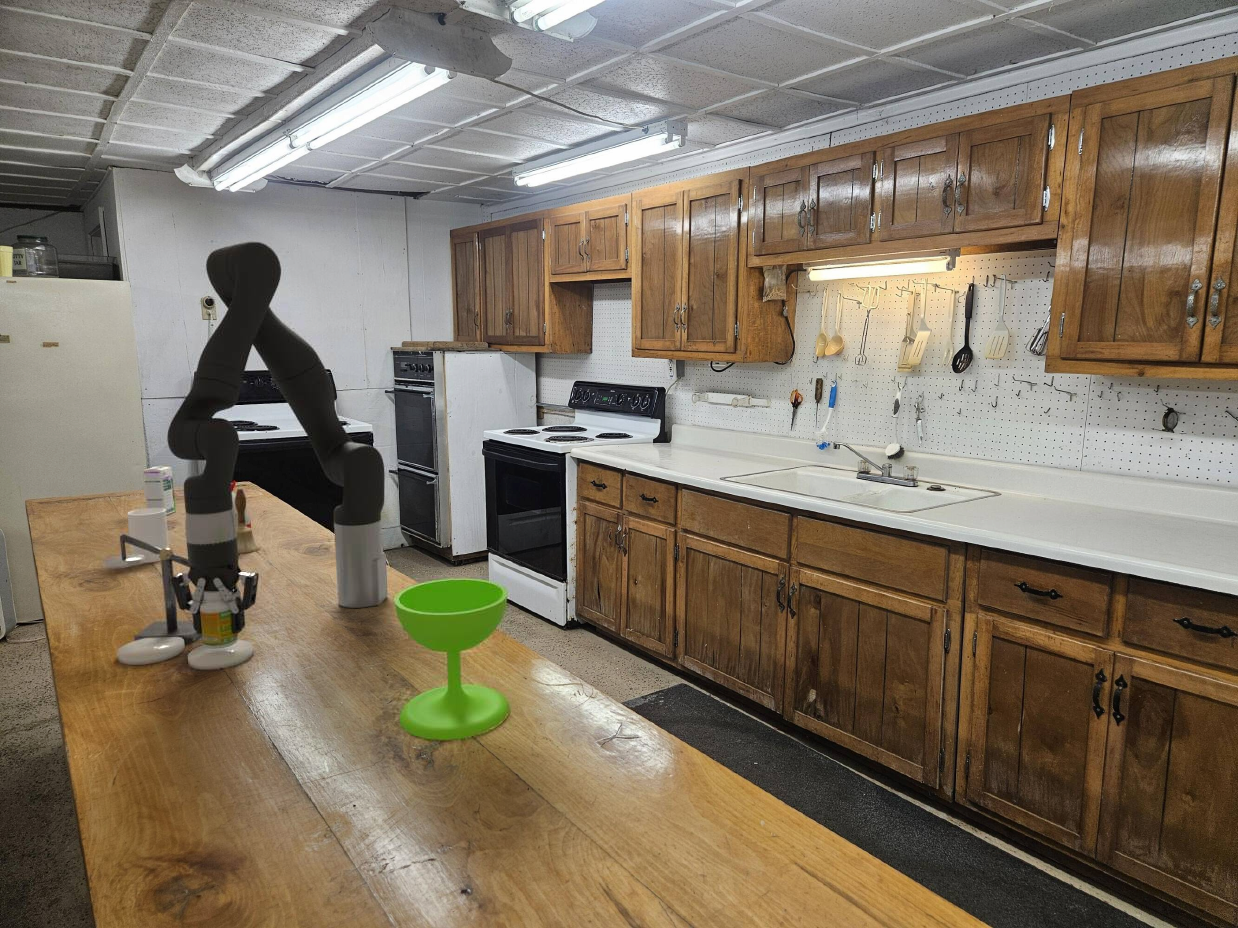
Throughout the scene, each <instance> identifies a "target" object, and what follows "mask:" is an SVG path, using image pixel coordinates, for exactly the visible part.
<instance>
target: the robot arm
mask: <svg viewBox="0 0 1238 928" xmlns="http://www.w3.org/2000/svg"><path fill="white" fill-rule="evenodd" d="M205 267H206V275H207V277H208V281H209V282H210V284H211V286H212V288H213V290H214V291H215V292H216V294H217V295H218V297H219V298H220V300H221V301H222V303H223V304H224V305H225V307H226V308H227V311H226V313H225V315H224V316H223V318H222V320H221V321H220V323H219V324H218V326H217V327H216V329H215V330H214V332H213V333H212V335H211V336H210V338H209V339H208V340H207V343H205V346H204V348H203V350H202V352H201V354H200V357H199V361H198V363H197V366H196V367H197V368H196V371H195V375H194V377H193V382H192V386H191V389H190V391H189V392H188V393H187V396H186V397H185V398H184V400H183V401H182V403H181V404H180V406H179V408H178V410H177V411H176V413H175V415H174V416H173V418H172V420H171V422H170V424H169V426H168V430H167V435H166V436H167V439H166V440H167V444H168V445H167V446H168V448H169V450H170V452H171V454H172V455H174V457H177V459H181V460H185V461H205V465H204V470H203V471H202V473H198V474H194V475H191V476H189V477H186V479H185V480H184V482H183V497H184V499H183V500H184V507H185V508H184V509H185V522H184V523H185V524H184V527H185V534H184V535H185V539H186V540H185V541H186V551H187V559H188V563H189V566H190V567H189V571H188V572H180V573H177V574H174V577H172V578H171V582H172V585H173V588H174V592H175V595H176V603H177V604H178V607H179V609H180V611H185V610H187V611H188V612H190V613H191V614H192V621H193V624H194V625H193V626H194V630H195V631H197V634H202V627H201V616H200V606H201V604H202V603H203V602H204V601H206V600H205V599H204V597H203V592H204V591H219V592H220V594H221V595H222V597H223V599H224V601H225V602H226V603H228V605H229V607H230V609H231V611H232V612H233V613H232V614H231V620H232V632H233V634H238V635H239V634H240V633H241V632H242V631H243V629H244V628H245V626H246V619H245V617H246V616H245V611H246V610H249V609H251V607H252V606H254V605H255V604H256V599H257V592H258V586H259V585H258V583H259V576H260V574H259V573H258V572H256V571H253V572H252V573H248V572H243V571H242V569H241V568H240V566H239V559H240V557H239V554H238V545H237V532H236V521H235V516H234V512H233V502H232V493H231V492H232V491H231V484H232V483H233V476H234V471H235V466H236V462H237V458H238V457H237V456H238V454H239V448H240V438H239V433H238V430H237V429H236V427H235V425H234V424H233V423H232V422H231V421H229V420H228V419H227V418H226V419H225V418H221V417H220V418H219V417H214V416H215V415H216V414H217V413H219V412H222V411H226V410H228V409H232V408H233V407H234V406H236V405H237V402H238V399H239V395H240V391H241V388H242V387H241V386H242V384H243V379H244V374H245V371H246V366H247V363H248V359H249V356H250V353H251V350H252V348H253V347H254V349H255V350H256V352H257V354H258V355H259V357H260V358H261V360H262V362H263V363H264V365H265V367H266V369H267V370H268V372H269V374H270V375H271V378H272V379H273V381H274V383H275V385H276V386H277V388H278V389H279V391H280V393H281V395H282V396H283V398H284V400H285V401H286V403H287V404H288V405H289V407H290V409H291V411H292V412H293V414H294V416H295V418H296V419H297V421H298V422H299V424H300V426H301V427H302V429H303V430H304V432H305V433H306V436H307V438H308V439H309V441H310V444H311V446H312V448H313V450H314V453H315V454H316V457H317V459H318V461H319V464H320V467H321V468H322V470H323V473H324V474H325V476H326V477H327V478H328V479H329V480H330V481H331V483H333V484H336V485H337V486H339V487H343V499H342V503H341V504H339V505H337V506H336V507H335V508H334V510H333V528H334V533H333V534H334V549H335V566H336V567H335V568H336V581H337V582H336V585H337V598H338V600H337V601H338V605H339V606H341V607H343V608H351V609H353V608H354V609H356V608H359V609H360V608H367V607H373V606H380V605H382V603H383V602H384V601H385V600H386V598H387V597H388V595H389V593H388V575H387V573H388V571H387V555H386V552H383V536H382V535H383V533H382V532H383V531H382V510H383V508H384V505H385V482H386V481H385V475H386V474H385V464H384V460H383V456H382V454H381V453H380V451H379V450H378V448H376V447H374V446H372V445H370V444H364V443H359V442H355V441H353V440H352V438H351V437H350V436H349V434H348V433H347V431H346V429H345V428H344V426H343V424H342V423H341V420H340V419H339V416H338V414H337V410H336V404H335V403H336V401H335V391H334V386H333V383H332V379H331V377H330V375H329V373H328V371H327V369H326V367H325V365H324V364H323V362H322V360H321V358H320V356H319V355H318V353H317V352H316V349H314V348H313V346H312V345H311V344H309V342H307V341H306V340H305V339H304V338H303V337H301V335H299V333H296V332H295V331H294V330H293V329H292V328H290V327H289V326H288V325H286V323H284V322H283V321H282V320H281V319H280V318H279V317H278V316H277V315H276V314H275V312H274V311H273V310H272V309H271V306H270V305H271V303H272V300H273V298H274V296H275V294H276V291H277V289H278V287H279V285H280V281H281V276H282V266H281V262H280V259H279V257H278V255H277V253H276V252H275V251H274V249H272V248H271V246H269V245H267V244H266V243H264V242H261V241H257V240H256V241H255V240H254V241H253V240H249V241H243V242H239V243H236V244H233V245H232V244H231V245H227V246H224V247H221V248H218V249H215V250H213V251H212V252H211V253H210V254H209V255H208V256H207V258H206V264H205ZM239 580H240V581H241V586H242V587H243V594H242V596H241V590H240V589H239V587H238V582H239ZM190 582H191V583H192V584H193V586H194V587H195V591H194V596H193V597H192V594H193V593H192V592H191V588H190V584H191V583H190ZM230 592H231V594H230Z"/></svg>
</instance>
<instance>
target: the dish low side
mask: <svg viewBox="0 0 1238 928" xmlns="http://www.w3.org/2000/svg"><path fill="white" fill-rule="evenodd" d="M253 656H254V645H253V643H252V642H250V641H247V640H243V639H238V641H237V642H236V643H235V644H233V645H231V646H229V647H225V648H219V649H209V648H206V647H204V646H203V645H200V646H198V647H196V648H194V649H192V650H191V651H190V652H189V653H188V654H187V662H188V663H187V664H188V666H189V667H190V668H192V669H196V670H199V671H200V670H203V671H206V670H207V671H211V670H213V669H214V670H221V669H220V668H222V669H226V668H230V667H233V666H237V665H240V664H242V663H245V662H247V661H248V660H249V659H252V657H253Z"/></svg>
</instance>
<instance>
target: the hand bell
mask: <svg viewBox="0 0 1238 928" xmlns="http://www.w3.org/2000/svg"><path fill="white" fill-rule="evenodd" d="M235 494H236V496H235V506H236V509H237V512H238V527H237V528H236V532H237V545H238V555H239V554H249V552H250V553H253V551H254V552H256V551H259V550H260V549H262V547H261V545H260V544H259V543H258V542H257V541H256V540H255V537H254V535H253V530H252V527H251V528H248V527H246V525H245V509H247V497H246V495H245V492H244V489H243V488H237V490H236V493H235Z"/></svg>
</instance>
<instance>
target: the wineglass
mask: <svg viewBox="0 0 1238 928" xmlns="http://www.w3.org/2000/svg"><path fill="white" fill-rule="evenodd" d="M508 593H509V591H508V590H507V589H506V587H505V586H503V585H502V584H500V583H498V582H494V581H491V580H485V579H478V578H465V577H464V578H462V577H461V578H444V579H435V580H431V581H425V582H422V583H418V584H414V585H410V586H409V587H407V588H405V589H402V590H401V591H399V592H398V593H397V594H396V595H395V597H394V598H393V602H394V607H395V611H396V618H397V619H398V621H399V624H400V626H401V627H402V629H403V630H404V632H405V633H406V634H407V635H408V636H409V637H410V638H411V639H412V640H413V641H415V643H417V644H419V645H421V647H422V646H423V647H425V648H427V649H429V650H431V651H434V652H439V653H446V665H447V666H446V667H447V672H446V673H447V685H443V686H440V687H436V688H431V689H428V690H426V691H424V692H422V693H419V694H417V695H416V696H414V697H413V698H411V699H410V700H409V701H408V702H407V703H406V704H405V705H404V706H403V707H402V709H401V711H400V714H399V717H398V719H399V720H398V721H399V724H400V726H401V728H402V729H403V730H404V731H405V732H407V733H409V734H411V735H413V736H415V737H418V738H422V739H426V740H434V741H453V740H452V739H457V740H463V739H467V738H466V737H469V738H471V737H470V736H473V735H476V734H479V733H483V732H485V731H487V730H489V729H490V728H492V727H494V726H497V725H498V724H499V723H500V722H501V721H503V720H504V719H505V717H506V715H507V714H508V713H509V714H510V712H509V707H510V706H511V705H510V704H509V702H508V700H507V698H506V697H505V696H504V695H503V694H502V693H501V692H499V691H497V690H495V689H493V688H490V687H487V686H483V685H479V684H469V683H467V684H466V683H465V684H462V674H461V673H462V671H461V670H462V668H461V667H462V666H461V664H462V663H461V652H463V651H467V650H470V649H473V648H474V647H476V646H478V645H480V644H481V643H483V642H485V640H487V639H488V638H489V637H490V636H491V635H492V634H493V633H494V632H495V630H496V629H497V628H498V627H499V625H500V624H501V623H502V619H503V617H504V614H505V612H506V608H507V601H508ZM510 708H511V707H510ZM483 734H484V733H483ZM473 737H474V736H473ZM435 739H436V740H435Z"/></svg>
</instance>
